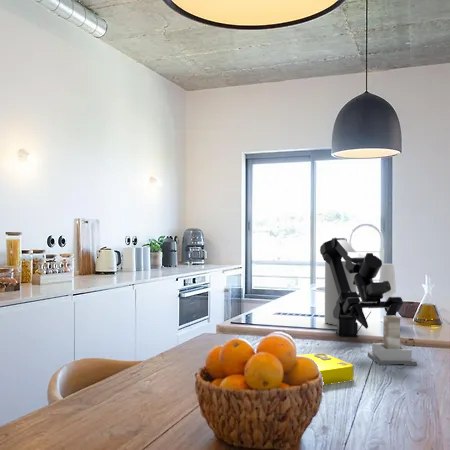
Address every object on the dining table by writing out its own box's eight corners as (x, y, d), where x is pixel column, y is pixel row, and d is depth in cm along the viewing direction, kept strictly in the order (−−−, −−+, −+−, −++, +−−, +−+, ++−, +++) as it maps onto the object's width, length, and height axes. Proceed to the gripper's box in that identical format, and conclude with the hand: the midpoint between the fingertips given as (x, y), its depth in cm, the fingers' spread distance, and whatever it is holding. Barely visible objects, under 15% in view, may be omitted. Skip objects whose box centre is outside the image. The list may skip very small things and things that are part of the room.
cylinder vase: (353, 320, 213) (354, 261, 213) (358, 326, 201) (358, 263, 201) (323, 320, 215) (323, 260, 214) (326, 325, 202) (326, 263, 202)
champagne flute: (399, 322, 211) (399, 264, 211) (386, 323, 209) (386, 264, 209) (388, 319, 217) (388, 263, 217) (375, 320, 215) (376, 263, 215)
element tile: (277, 373, 139) (277, 355, 139) (322, 367, 146) (322, 350, 146) (308, 389, 126) (308, 370, 126) (356, 382, 132) (357, 363, 132)
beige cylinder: (383, 355, 154) (383, 315, 154) (393, 354, 154) (394, 315, 154) (388, 358, 150) (389, 317, 150) (399, 357, 151) (400, 317, 151)
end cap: (378, 364, 147) (378, 351, 147) (367, 355, 158) (367, 342, 158) (416, 365, 147) (416, 351, 147) (402, 355, 158) (402, 342, 158)
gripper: (346, 272, 162) (360, 313, 152) (401, 272, 165) (418, 312, 155) (337, 293, 170) (349, 333, 160) (389, 292, 173) (405, 332, 163)
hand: (381, 327), depth 159 cm, fingers open, 9 cm apart
